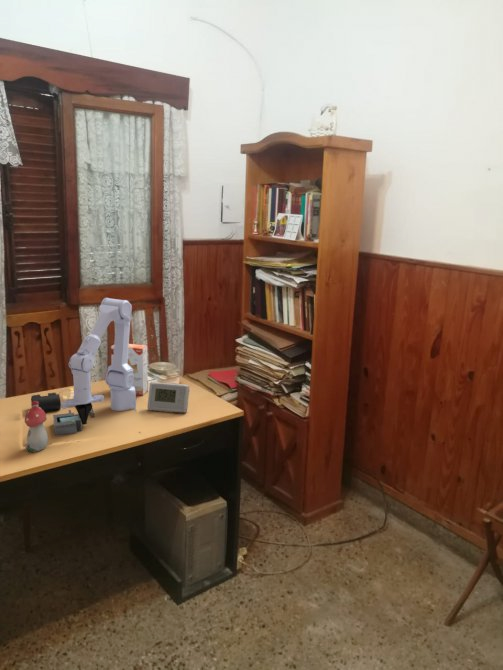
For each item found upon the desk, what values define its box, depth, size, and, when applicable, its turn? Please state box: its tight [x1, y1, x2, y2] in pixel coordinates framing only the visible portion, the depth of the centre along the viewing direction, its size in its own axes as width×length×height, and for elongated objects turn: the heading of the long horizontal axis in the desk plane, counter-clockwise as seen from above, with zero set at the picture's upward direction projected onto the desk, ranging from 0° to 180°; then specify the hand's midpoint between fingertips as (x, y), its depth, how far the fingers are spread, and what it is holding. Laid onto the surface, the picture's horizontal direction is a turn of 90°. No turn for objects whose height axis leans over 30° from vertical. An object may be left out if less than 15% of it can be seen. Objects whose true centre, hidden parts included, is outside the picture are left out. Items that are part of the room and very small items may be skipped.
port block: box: [52, 412, 83, 437], centre depth 183 cm, size 9×10×5 cm
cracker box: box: [110, 343, 149, 396], centre depth 220 cm, size 14×6×21 cm, turn 80°
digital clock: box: [147, 381, 190, 414], centre depth 205 cm, size 16×9×11 cm, turn 71°
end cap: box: [30, 392, 62, 413], centre depth 198 cm, size 10×7×7 cm
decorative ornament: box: [24, 401, 49, 453], centre depth 169 cm, size 9×6×15 cm
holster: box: [68, 407, 95, 418], centre depth 194 cm, size 9×7×3 cm
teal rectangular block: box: [60, 416, 79, 422], centre depth 183 cm, size 7×4×4 cm, turn 118°
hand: (83, 423), depth 185 cm, fingers closed
